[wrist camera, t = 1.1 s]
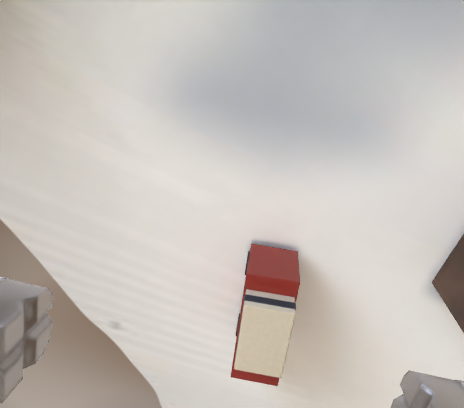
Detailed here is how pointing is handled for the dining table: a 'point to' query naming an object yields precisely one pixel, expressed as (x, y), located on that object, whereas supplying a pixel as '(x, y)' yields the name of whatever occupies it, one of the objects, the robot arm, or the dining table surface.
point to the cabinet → (453, 283)
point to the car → (266, 314)
